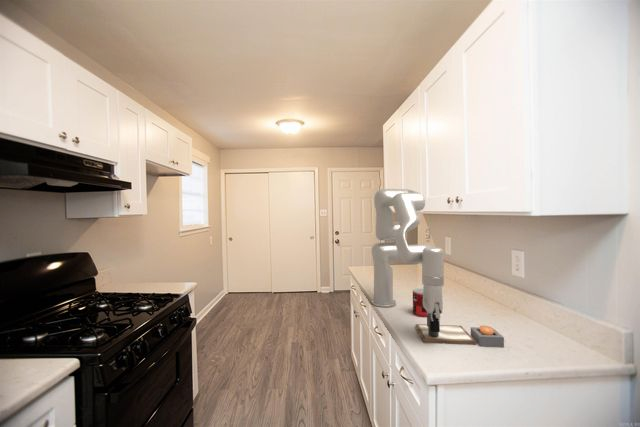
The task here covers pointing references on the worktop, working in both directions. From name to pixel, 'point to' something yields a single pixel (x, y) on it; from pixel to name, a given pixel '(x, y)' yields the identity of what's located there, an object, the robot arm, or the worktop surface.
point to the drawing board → (446, 335)
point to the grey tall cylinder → (433, 334)
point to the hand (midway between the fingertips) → (433, 328)
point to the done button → (486, 330)
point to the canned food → (418, 303)
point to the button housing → (487, 338)
